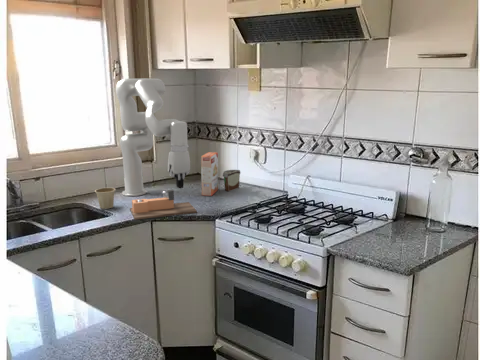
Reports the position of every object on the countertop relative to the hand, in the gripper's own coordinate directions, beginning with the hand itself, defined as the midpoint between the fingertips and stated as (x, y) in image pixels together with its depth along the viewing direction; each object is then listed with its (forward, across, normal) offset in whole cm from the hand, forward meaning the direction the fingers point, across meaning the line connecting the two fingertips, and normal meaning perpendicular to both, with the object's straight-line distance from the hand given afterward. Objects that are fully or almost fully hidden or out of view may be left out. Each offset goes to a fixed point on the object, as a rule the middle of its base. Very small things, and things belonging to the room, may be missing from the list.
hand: (179, 187), depth 219 cm
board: (+10, +8, -2) cm, 13 cm away
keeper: (+4, +5, -3) cm, 7 cm away
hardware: (+10, +10, -8) cm, 16 cm away
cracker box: (+11, -29, -13) cm, 34 cm away
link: (+10, +11, -6) cm, 16 cm away
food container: (+11, -42, -12) cm, 45 cm away
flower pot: (+12, +23, -27) cm, 38 cm away
